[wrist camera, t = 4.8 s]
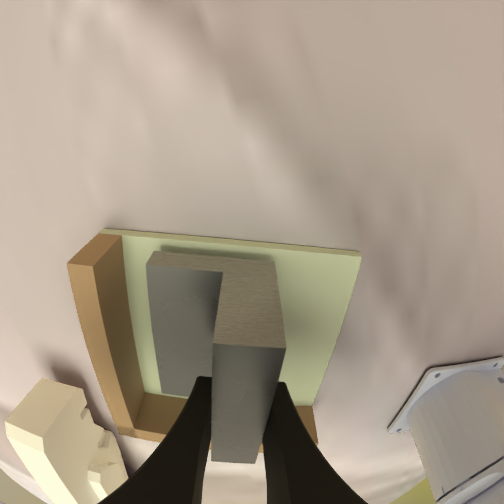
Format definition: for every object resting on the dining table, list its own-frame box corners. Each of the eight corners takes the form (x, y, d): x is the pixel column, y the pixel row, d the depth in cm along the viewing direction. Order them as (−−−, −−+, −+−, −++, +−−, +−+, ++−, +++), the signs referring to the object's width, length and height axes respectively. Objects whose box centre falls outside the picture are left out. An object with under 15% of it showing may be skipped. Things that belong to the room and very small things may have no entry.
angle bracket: (254, 386, 16) (254, 463, 12) (166, 377, 16) (148, 451, 11) (274, 261, 13) (286, 348, 8) (154, 250, 12) (109, 328, 8)
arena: (358, 251, 14) (386, 292, 11) (306, 409, 19) (313, 452, 16) (104, 228, 13) (66, 263, 10) (133, 393, 18) (119, 433, 15)
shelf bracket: (122, 486, 29) (99, 555, 17) (69, 335, 23) (-10, 420, 11) (160, 494, 29) (143, 568, 17) (122, 344, 23) (53, 449, 11)
